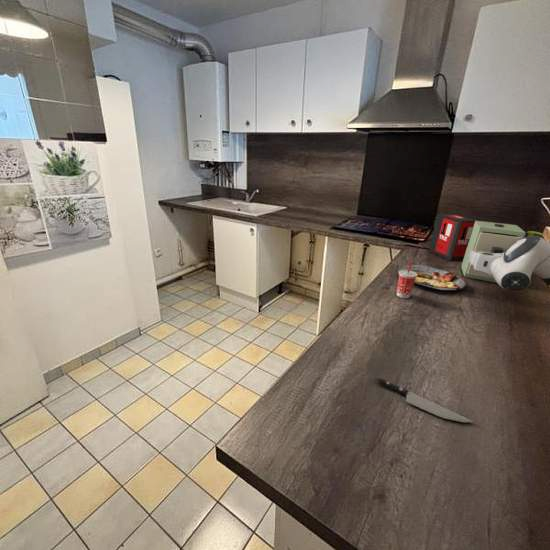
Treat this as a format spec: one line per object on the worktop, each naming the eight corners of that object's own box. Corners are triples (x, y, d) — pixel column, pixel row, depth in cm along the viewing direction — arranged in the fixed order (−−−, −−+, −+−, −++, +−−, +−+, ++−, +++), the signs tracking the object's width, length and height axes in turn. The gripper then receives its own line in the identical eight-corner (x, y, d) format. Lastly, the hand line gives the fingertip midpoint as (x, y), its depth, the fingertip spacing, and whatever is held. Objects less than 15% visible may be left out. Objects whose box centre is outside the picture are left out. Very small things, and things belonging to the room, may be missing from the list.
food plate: (467, 280, 123) (470, 272, 121) (460, 300, 105) (463, 292, 104) (405, 265, 136) (407, 258, 135) (390, 281, 119) (392, 273, 117)
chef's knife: (472, 434, 55) (473, 422, 57) (474, 430, 54) (475, 418, 57) (372, 387, 65) (376, 379, 67) (373, 384, 64) (377, 375, 66)
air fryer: (505, 284, 120) (526, 231, 111) (464, 276, 126) (480, 225, 117) (499, 272, 132) (517, 223, 123) (461, 266, 138) (475, 219, 129)
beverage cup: (413, 294, 108) (422, 259, 103) (410, 300, 104) (419, 264, 98) (396, 290, 112) (403, 255, 106) (392, 296, 107) (400, 260, 101)
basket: (508, 284, 115) (525, 240, 108) (468, 277, 121) (482, 235, 114) (499, 270, 130) (514, 230, 122) (464, 264, 135) (476, 226, 128)
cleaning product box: (465, 260, 146) (478, 220, 139) (450, 260, 145) (462, 221, 137) (442, 249, 161) (452, 213, 153) (428, 250, 160) (438, 213, 152)
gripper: (545, 263, 98) (532, 251, 109) (474, 252, 106) (469, 243, 117) (537, 280, 100) (526, 267, 112) (469, 268, 108) (465, 257, 120)
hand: (497, 254), depth 114 cm, fingers open, 8 cm apart
